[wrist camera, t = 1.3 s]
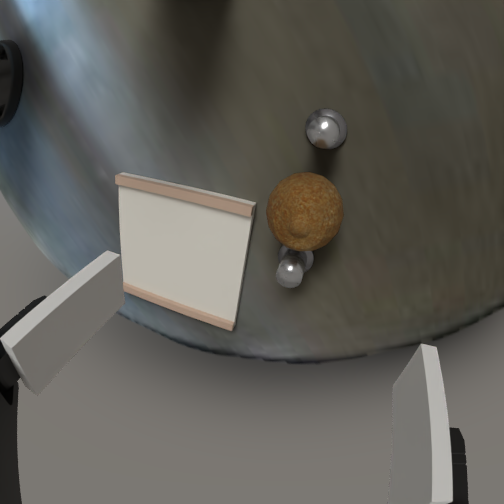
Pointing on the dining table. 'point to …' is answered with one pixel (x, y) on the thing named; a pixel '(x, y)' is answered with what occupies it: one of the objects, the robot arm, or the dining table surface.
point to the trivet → (184, 247)
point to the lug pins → (326, 137)
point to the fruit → (304, 211)
